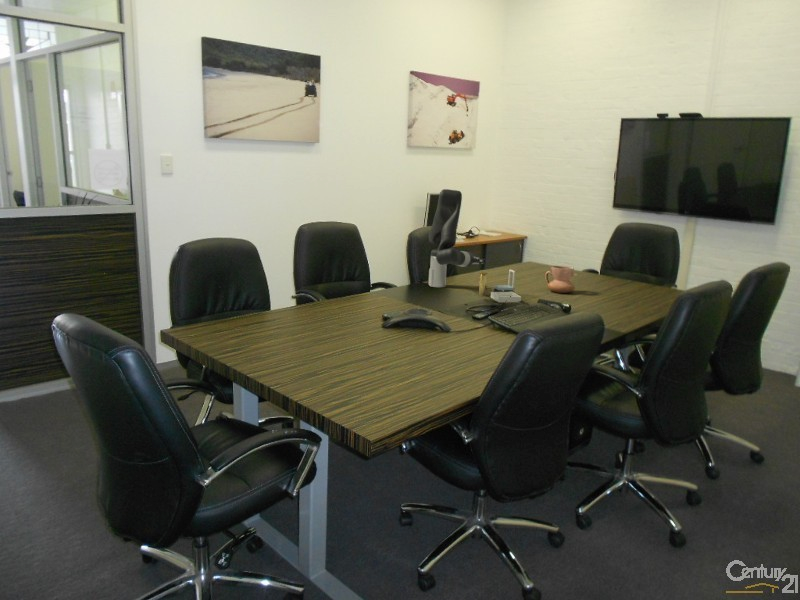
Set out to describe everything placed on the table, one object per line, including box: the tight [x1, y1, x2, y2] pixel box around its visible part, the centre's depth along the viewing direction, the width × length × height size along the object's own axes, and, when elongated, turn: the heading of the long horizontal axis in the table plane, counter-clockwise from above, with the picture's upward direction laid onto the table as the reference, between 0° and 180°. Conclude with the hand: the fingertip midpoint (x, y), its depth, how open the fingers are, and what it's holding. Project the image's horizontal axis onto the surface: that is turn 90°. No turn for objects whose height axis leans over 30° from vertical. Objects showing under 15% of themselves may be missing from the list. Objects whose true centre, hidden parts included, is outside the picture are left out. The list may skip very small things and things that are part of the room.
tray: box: [490, 291, 522, 303], centre depth 306 cm, size 12×12×3 cm
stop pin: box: [478, 270, 489, 297], centre depth 314 cm, size 5×5×13 cm
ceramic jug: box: [544, 265, 578, 294], centre depth 330 cm, size 18×14×14 cm
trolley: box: [492, 269, 516, 294], centre depth 316 cm, size 10×7×14 cm
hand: (477, 261), depth 305 cm, fingers open, 8 cm apart
